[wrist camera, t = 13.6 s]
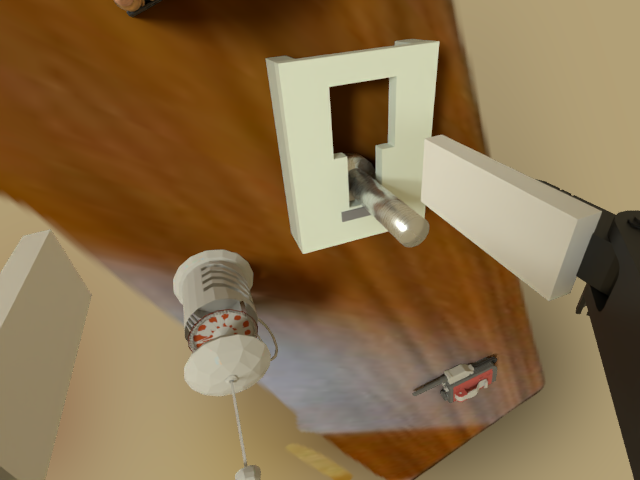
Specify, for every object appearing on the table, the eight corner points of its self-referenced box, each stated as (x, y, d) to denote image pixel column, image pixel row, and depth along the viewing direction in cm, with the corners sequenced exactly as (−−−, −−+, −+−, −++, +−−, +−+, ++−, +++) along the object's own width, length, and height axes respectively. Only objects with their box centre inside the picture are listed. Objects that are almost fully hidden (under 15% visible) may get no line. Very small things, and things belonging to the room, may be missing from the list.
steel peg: (325, 157, 43) (387, 212, 31) (368, 148, 44) (444, 198, 32) (328, 199, 46) (386, 265, 34) (368, 190, 47) (438, 250, 35)
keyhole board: (265, 58, 35) (278, 63, 31) (411, 38, 39) (440, 41, 35) (291, 233, 46) (303, 254, 42) (403, 204, 50) (425, 222, 46)
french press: (202, 236, 42) (232, 435, 22) (279, 274, 49) (356, 455, 29) (156, 297, 44) (146, 530, 24) (236, 326, 51) (280, 530, 31)
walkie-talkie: (492, 346, 78) (408, 385, 74) (507, 362, 74) (420, 404, 71) (490, 370, 83) (411, 408, 79) (504, 386, 79) (423, 427, 76)
